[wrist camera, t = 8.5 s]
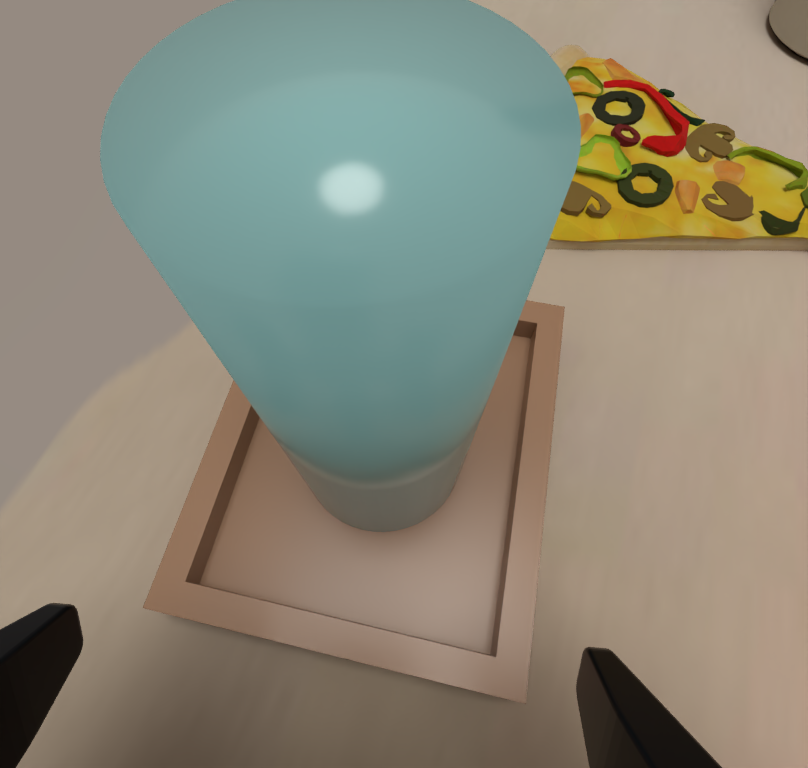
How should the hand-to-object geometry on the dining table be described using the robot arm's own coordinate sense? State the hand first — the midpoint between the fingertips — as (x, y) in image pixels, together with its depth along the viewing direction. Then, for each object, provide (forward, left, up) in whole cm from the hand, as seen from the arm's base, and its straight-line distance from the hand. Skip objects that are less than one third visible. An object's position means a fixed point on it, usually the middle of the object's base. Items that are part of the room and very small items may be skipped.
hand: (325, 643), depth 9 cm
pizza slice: (+23, -11, -10) cm, 28 cm away
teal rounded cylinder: (+6, +1, -8) cm, 10 cm away
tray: (+6, +1, -9) cm, 11 cm away
